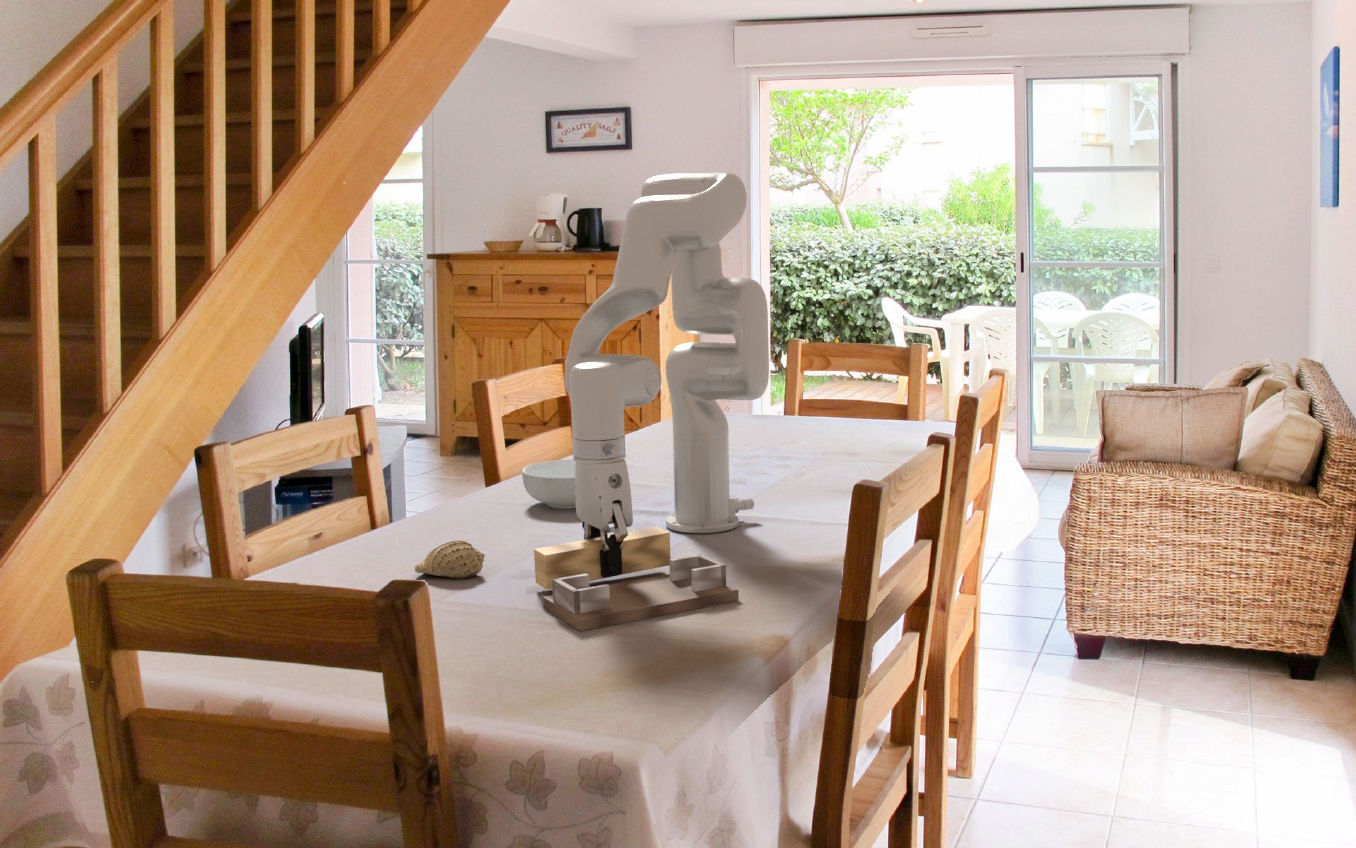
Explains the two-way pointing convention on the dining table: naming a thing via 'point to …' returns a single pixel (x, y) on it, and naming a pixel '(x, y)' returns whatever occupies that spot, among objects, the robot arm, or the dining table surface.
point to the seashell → (452, 561)
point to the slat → (584, 556)
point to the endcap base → (641, 594)
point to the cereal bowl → (551, 482)
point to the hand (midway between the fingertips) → (604, 570)
